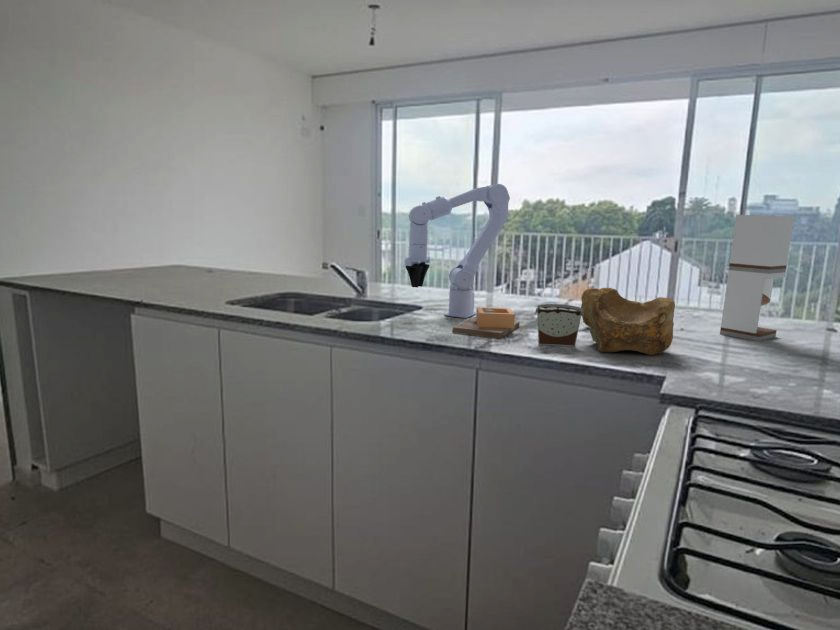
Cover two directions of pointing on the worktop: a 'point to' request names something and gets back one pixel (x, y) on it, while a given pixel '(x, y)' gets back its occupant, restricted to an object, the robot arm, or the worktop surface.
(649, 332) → the rough brown rock
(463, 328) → the post base
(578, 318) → the food container
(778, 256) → the white stacked pedestal
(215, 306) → the worktop surface
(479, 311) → the shallow wooden tray
